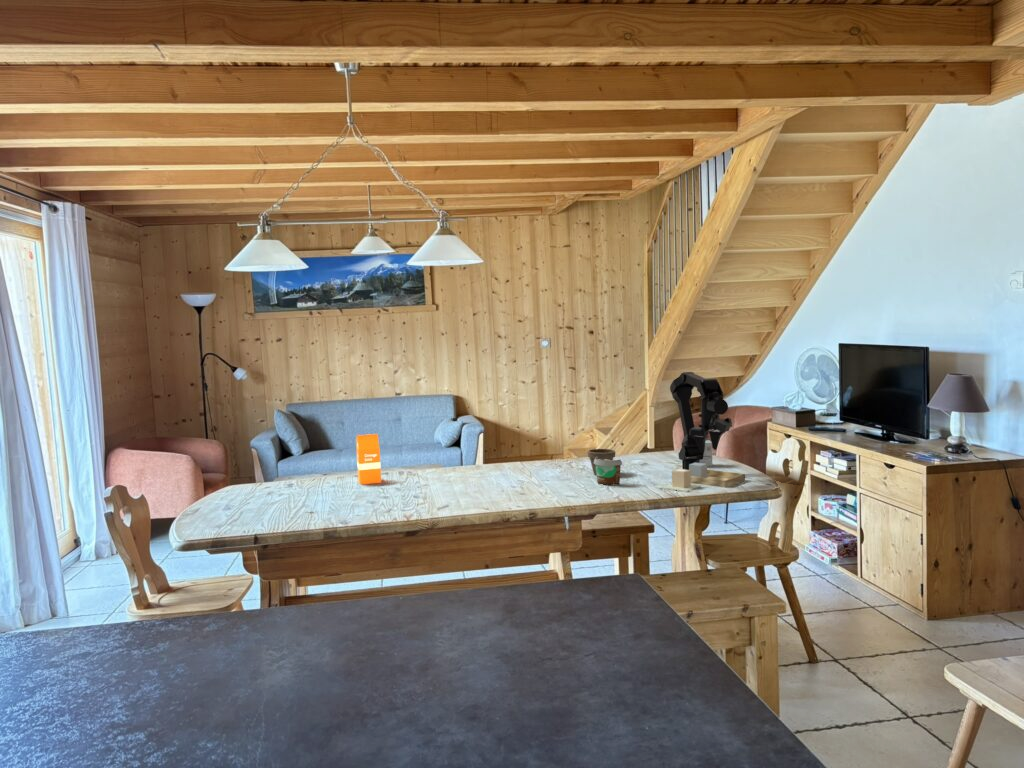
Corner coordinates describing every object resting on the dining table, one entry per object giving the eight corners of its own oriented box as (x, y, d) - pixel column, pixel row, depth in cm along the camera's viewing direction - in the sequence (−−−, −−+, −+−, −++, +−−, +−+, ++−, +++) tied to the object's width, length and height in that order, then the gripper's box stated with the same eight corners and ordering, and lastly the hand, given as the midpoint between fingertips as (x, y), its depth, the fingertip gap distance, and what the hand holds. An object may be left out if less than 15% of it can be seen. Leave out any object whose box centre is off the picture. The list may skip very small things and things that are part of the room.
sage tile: (661, 488, 287) (661, 487, 287) (675, 483, 295) (675, 481, 295) (687, 492, 280) (687, 490, 280) (701, 486, 288) (701, 485, 288)
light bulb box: (710, 464, 332) (710, 439, 331) (712, 467, 325) (712, 442, 324) (685, 464, 333) (685, 440, 332) (687, 467, 326) (687, 442, 325)
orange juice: (381, 482, 318) (379, 435, 316) (360, 484, 315) (357, 436, 313) (378, 478, 325) (376, 432, 324) (358, 480, 322) (355, 434, 321)
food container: (587, 483, 301) (587, 458, 300) (597, 480, 305) (596, 456, 305) (613, 487, 292) (612, 461, 292) (622, 484, 297) (621, 459, 296)
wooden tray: (675, 482, 297) (674, 474, 297) (694, 475, 309) (694, 468, 309) (726, 488, 283) (726, 480, 283) (744, 481, 295) (744, 473, 294)
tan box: (672, 486, 287) (671, 470, 287) (679, 484, 291) (678, 468, 291) (683, 488, 284) (683, 472, 283) (690, 485, 288) (690, 469, 287)
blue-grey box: (689, 479, 299) (689, 464, 299) (695, 477, 303) (695, 462, 302) (700, 481, 296) (700, 465, 295) (706, 478, 300) (706, 463, 299)
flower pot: (613, 471, 324) (612, 447, 323) (618, 476, 312) (617, 452, 312) (586, 472, 324) (586, 448, 323) (590, 477, 312) (589, 453, 311)
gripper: (714, 415, 281) (715, 457, 282) (739, 410, 294) (739, 449, 295) (688, 413, 289) (689, 454, 290) (713, 408, 302) (714, 447, 303)
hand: (708, 451), depth 294 cm, fingers open, 9 cm apart
